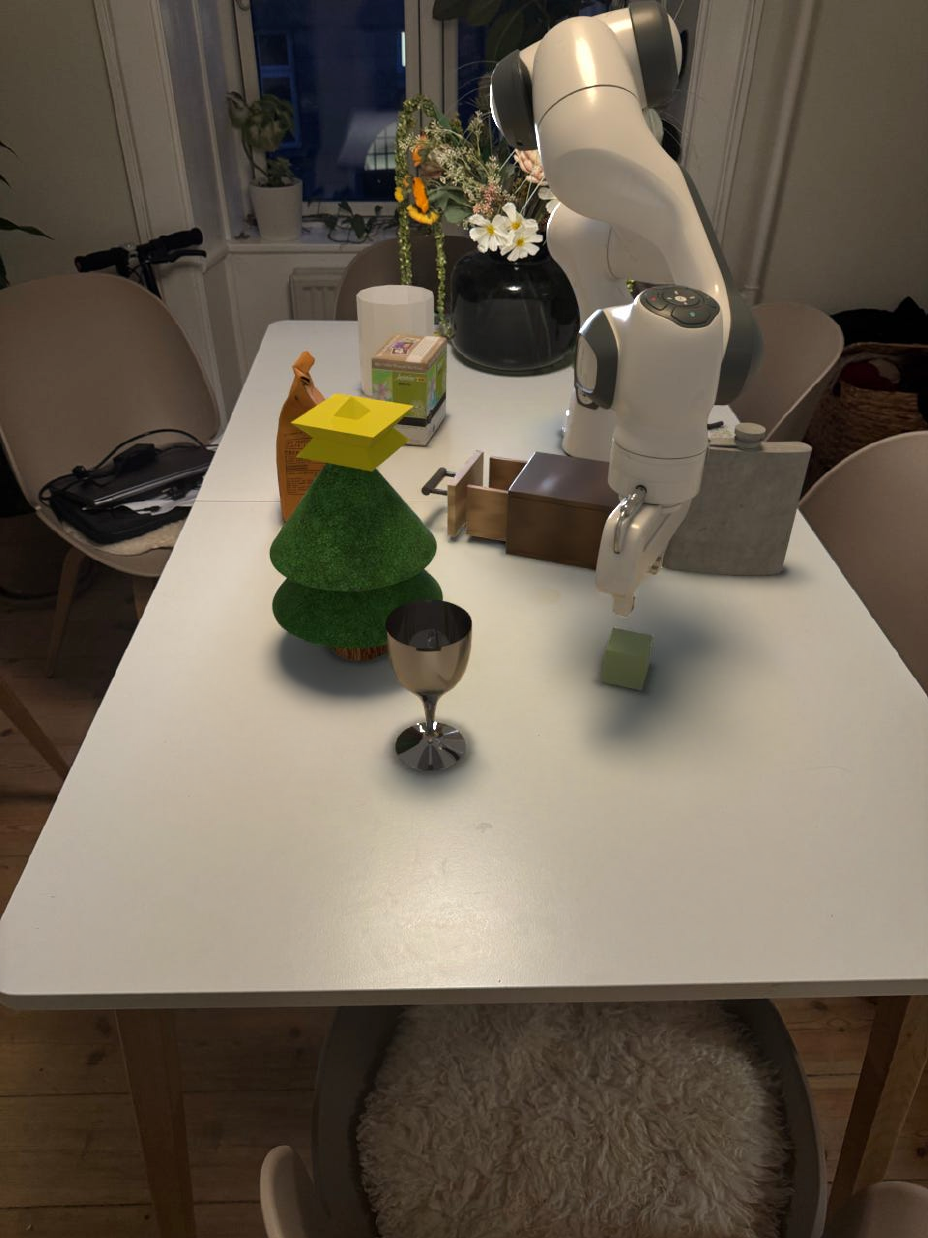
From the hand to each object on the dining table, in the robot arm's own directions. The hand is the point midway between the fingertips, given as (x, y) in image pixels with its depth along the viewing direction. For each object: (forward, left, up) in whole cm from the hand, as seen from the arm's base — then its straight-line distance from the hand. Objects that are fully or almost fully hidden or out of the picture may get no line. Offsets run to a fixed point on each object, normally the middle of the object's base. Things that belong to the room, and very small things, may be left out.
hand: (637, 591), depth 92 cm
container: (-37, -90, -11) cm, 98 cm away
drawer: (-12, -35, -10) cm, 39 cm away
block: (0, 0, -11) cm, 11 cm away
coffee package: (+4, -57, -11) cm, 58 cm away
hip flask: (-28, -7, -11) cm, 31 cm away
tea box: (-26, -72, -11) cm, 78 cm away
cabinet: (-18, -25, -11) cm, 33 cm away
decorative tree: (+19, -24, -11) cm, 33 cm away
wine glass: (+24, -5, -11) cm, 27 cm away
